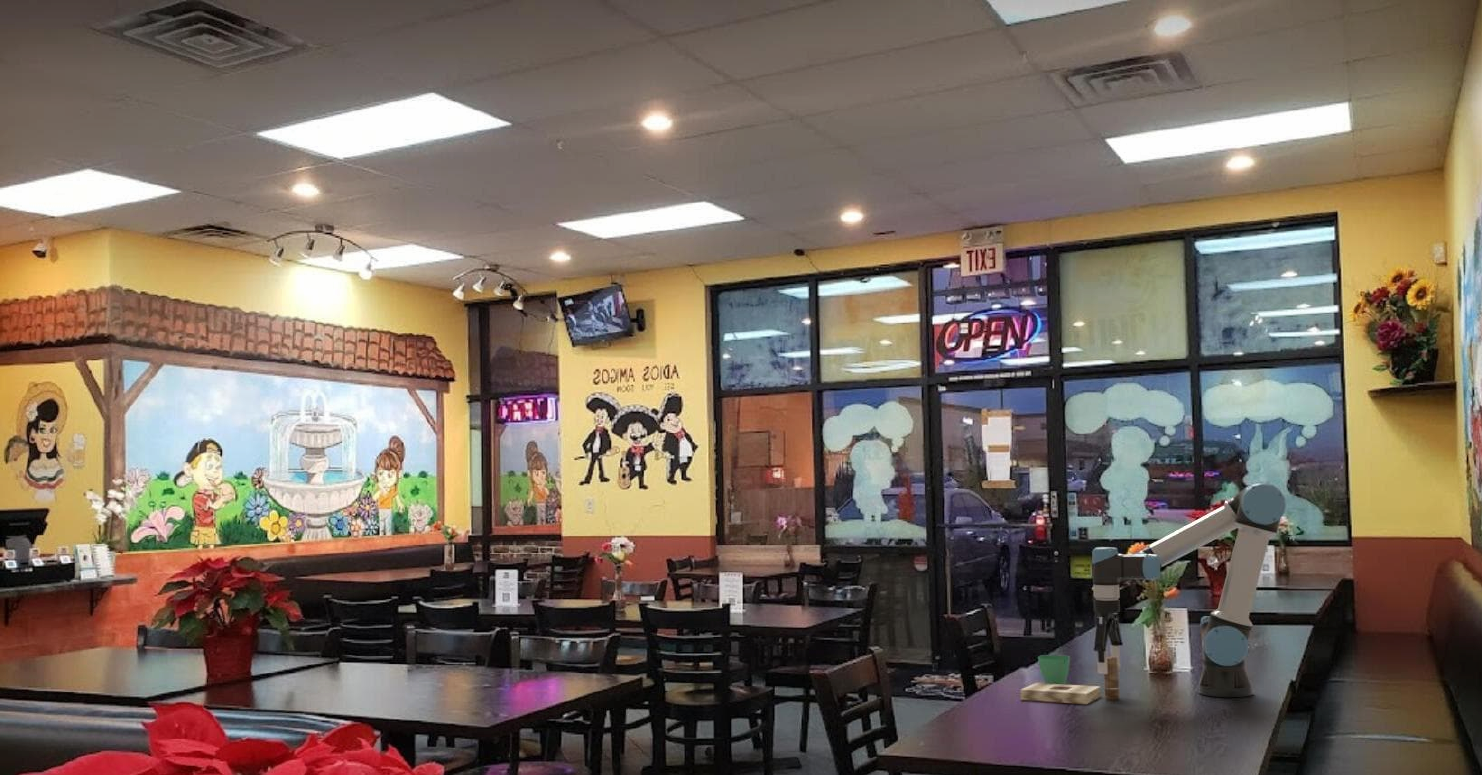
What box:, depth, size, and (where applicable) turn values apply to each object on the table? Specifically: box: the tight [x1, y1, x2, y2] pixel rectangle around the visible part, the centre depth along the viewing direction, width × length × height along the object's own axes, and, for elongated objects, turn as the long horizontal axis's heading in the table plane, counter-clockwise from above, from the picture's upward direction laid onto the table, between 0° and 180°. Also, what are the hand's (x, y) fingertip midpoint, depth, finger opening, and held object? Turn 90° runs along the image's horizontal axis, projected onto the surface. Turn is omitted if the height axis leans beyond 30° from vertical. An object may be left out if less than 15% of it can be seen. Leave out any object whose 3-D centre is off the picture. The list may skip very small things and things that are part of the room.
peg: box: [1103, 656, 1120, 701], centre depth 359 cm, size 4×4×12 cm
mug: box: [1037, 654, 1071, 684], centre depth 381 cm, size 15×10×10 cm
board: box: [1020, 682, 1102, 705], centre depth 362 cm, size 20×14×3 cm
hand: (1109, 670), depth 360 cm, fingers open, 13 cm apart
